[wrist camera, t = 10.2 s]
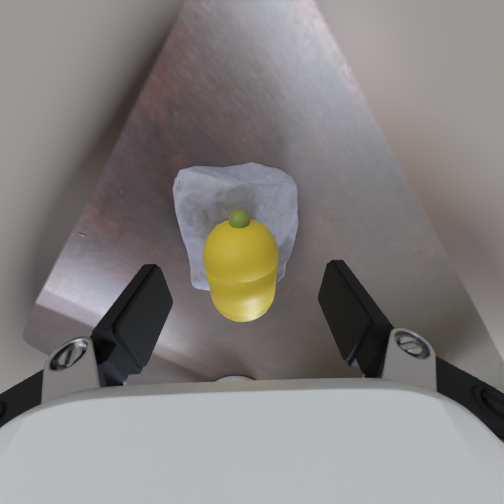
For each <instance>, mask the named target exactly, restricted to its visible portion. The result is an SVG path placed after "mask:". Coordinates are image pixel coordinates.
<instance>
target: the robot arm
mask: <svg viewBox="0 0 504 504" xmlns="http://www.w3.org/2000/svg"><path fill="white" fill-rule="evenodd" d="M318 301H319V304H320V306H321V308H322V311H323V313H324V315H325V318H326V320H327V323H328V325H329V327H330V330H331V332H332V334H333V337H334V339H335V341H336V344H337V346H338V348H339V351H340V353H341V356H342V358H343V359H344V360H347V362H348V365H349V367H360V370H361V372H362V373H363V374H362V378H318V379H282V380H251V381H221V382H194V383H168V384H144V385H127V383H126V379H127V377H128V375H129V374H140V373H141V371H142V369H143V367H145V366H146V365H147V363H148V361H149V359H150V357H151V354H152V352H153V350H154V347H155V345H156V342H157V340H158V338H159V335H160V333H161V331H162V328H163V326H164V324H165V321H166V319H167V317H168V314H169V312H170V310H171V307H172V304H173V300H172V297H171V294H170V291H169V289H168V286H167V283H166V281H165V278H164V275H163V273H162V270H161V268H160V267H158V266H157V265H156V264H145V265H143V266H142V267H141V269H140V270H139V271H138V273H137V274H136V275H135V276H134V278H133V279H132V280H131V282H130V283H129V284H128V286H127V287H126V288H125V289H124V291H123V292H122V293H121V295H120V296H119V297H118V299H117V300H116V301H115V302H114V304H113V305H112V306H111V308H110V309H109V310H108V312H107V313H106V314H105V315H104V317H103V318H102V319H101V321H100V322H99V323H98V324H97V326H96V327H95V328H94V330H93V331H92V335H91V336H90V337H78V338H75V339H72V340H70V341H68V342H66V343H64V344H63V345H61V346H60V347H59V348H57V349H56V350H55V351H54V352H53V353H52V354H51V355H50V356H49V358H48V359H47V361H46V362H45V366H44V369H43V370H41V371H40V372H38V373H36V374H34V375H32V376H31V377H29V378H27V379H26V380H24V381H22V382H20V383H19V384H17V385H15V386H13V387H12V388H10V389H8V390H7V391H5V392H3V393H1V394H0V504H504V394H503V393H502V392H500V391H499V390H497V389H496V388H494V387H492V386H490V385H488V384H487V383H485V382H483V381H481V380H479V379H477V378H476V377H474V376H472V375H470V374H468V373H466V372H464V371H463V370H461V369H459V368H457V367H455V366H453V365H452V364H450V363H448V362H446V361H444V360H442V359H440V358H439V357H437V356H435V352H434V349H433V348H432V346H431V345H430V344H429V342H428V341H427V340H426V339H425V338H423V337H422V336H421V335H419V334H418V333H416V332H414V331H412V330H409V329H407V328H401V327H398V328H394V327H393V326H392V324H391V323H390V322H389V320H388V319H387V318H386V316H385V315H384V314H383V312H382V311H381V310H380V308H379V307H378V306H377V304H376V303H375V302H374V300H373V299H372V298H371V296H370V295H369V294H368V292H367V291H366V290H365V288H364V287H363V286H362V285H361V283H360V282H359V281H358V279H357V278H356V277H355V275H354V274H353V273H352V271H351V270H350V269H349V267H348V266H347V265H346V263H345V262H344V261H343V260H331V261H330V263H328V264H327V266H326V270H325V273H324V277H323V280H322V284H321V287H320V291H319V295H318Z"/></svg>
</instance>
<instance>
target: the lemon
mask: <svg viewBox="0 0 504 504" xmlns="http://www.w3.org/2000/svg"><path fill="white" fill-rule="evenodd" d="M278 259H279V257H278V247H277V243H276V240H275V238H274V237H273V235H272V233H271V232H270V231H269V230H268V229H267V227H266V223H259V222H258V221H256V220H253V219H250V218H249V215H248V214H247V213H246V212H245V211H243V210H235V211H233V212H232V213H231V214H230V216H229V220H226V221H224V222H222V223H221V224H217V225H216V227H215V228H214V229H213V230H212V232H211V233H210V234H209V236H208V238H207V240H206V242H205V244H204V250H203V261H204V266H205V271H206V275H207V279H208V284H209V288H210V292H211V297H212V300H213V303H214V305H215V307H216V308H217V309H218V311H219V312H220V313H221V314H222V315H223V316H225V317H226V318H228V319H231V320H233V321H237V322H248V321H252V320H255V319H257V318H259V317H260V316H262V315H263V314H264V313H265V312H266V311H267V310H268V309H269V307H270V306H271V304H272V302H273V299H274V295H275V287H276V278H277V268H278Z"/></svg>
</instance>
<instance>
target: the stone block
mask: <svg viewBox="0 0 504 504" xmlns="http://www.w3.org/2000/svg"><path fill="white" fill-rule="evenodd" d="M174 182H175V183H174V186H173V195H174V202H175V211H176V216H177V220H178V223H179V227H180V231H181V235H182V238H183V241H184V243H185V246H186V249H187V252H188V256H189V263H190V267H191V281H192V285H193V286H194V287H195V288H197V289H203V290H207V291H210V288H209V284H208V279H207V275H206V271H205V266H204V261H203V250H204V244H205V242H206V240H207V238H208V236H209V234H210V233H211V232H212V230H213V229H214V228H215V227H216V225H217V224H221V223H222V222H224V221H226V220H229V216H230V214H231V213H232V212H233V211H235V210H243V211H245V212H246V213H247V214H248V215H249V218H250V219H253V220H256V221H258V222H259V223H266V227H267V229H268V230H269V231H270V232H271V233H272V235H273V237H274V238H275V240H276V243H277V247H278V257H279V259H278V268H277V278H276V283H277V282H279V280H280V279H281V278H282V277H283V276H284V275H285V272H286V271H285V265H286V262H287V261H288V260H289V258H290V255H291V252H292V249H293V246H294V241H295V235H296V232H297V228H298V214H297V210H298V205H297V191H298V187H297V186H296V183H295V182H294V180H293V179H292V177H290V176H289V175H288V174H287V173H285V172H284V171H282V170H280V169H277V168H272V167H268V166H264V165H262V164H257V163H253V162H251V163H246V164H243V165H234V166H229V167H209V166H194V167H189V168H185V169H182V170H180V171H179V173H178V175H177V177H176V178H175V180H174Z"/></svg>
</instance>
